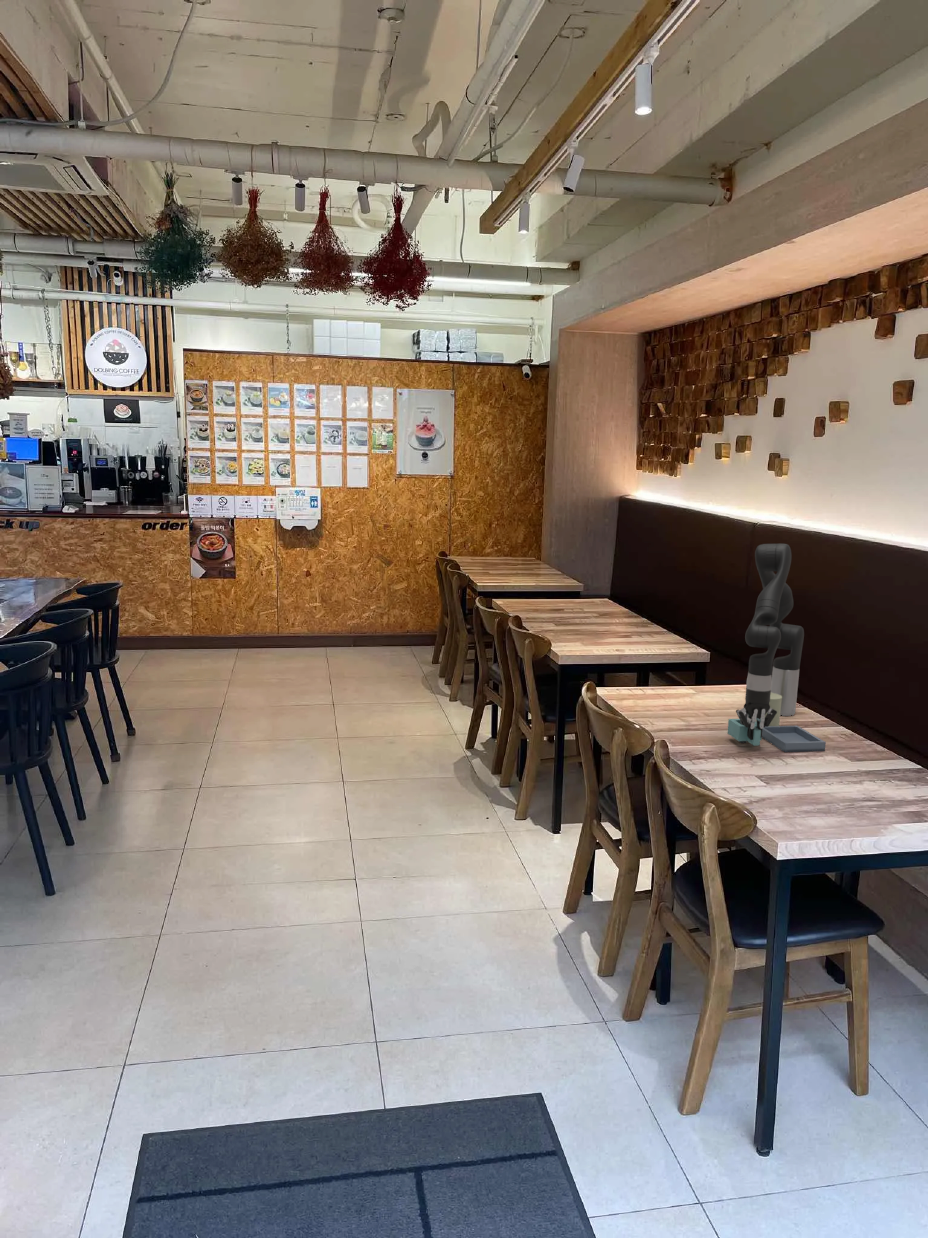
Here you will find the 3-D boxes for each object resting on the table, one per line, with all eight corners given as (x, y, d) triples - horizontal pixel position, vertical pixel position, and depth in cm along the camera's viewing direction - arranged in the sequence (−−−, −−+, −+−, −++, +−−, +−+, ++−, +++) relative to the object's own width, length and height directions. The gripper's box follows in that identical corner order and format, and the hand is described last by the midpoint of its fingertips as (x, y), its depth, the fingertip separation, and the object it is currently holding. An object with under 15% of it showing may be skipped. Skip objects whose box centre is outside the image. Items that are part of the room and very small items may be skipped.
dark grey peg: (736, 740, 290) (738, 710, 288) (744, 740, 290) (747, 709, 288) (740, 744, 287) (743, 712, 285) (749, 743, 287) (752, 712, 285)
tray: (758, 735, 296) (758, 726, 296) (796, 734, 299) (797, 725, 298) (784, 752, 279) (785, 743, 279) (824, 751, 282) (825, 742, 281)
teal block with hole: (727, 733, 291) (728, 719, 290) (749, 732, 292) (751, 718, 291) (745, 745, 279) (746, 731, 278) (768, 745, 280) (769, 730, 279)
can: (775, 723, 310) (778, 691, 307) (782, 732, 301) (785, 698, 298) (749, 722, 310) (751, 690, 308) (754, 730, 301) (757, 697, 299)
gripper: (772, 683, 282) (768, 734, 286) (733, 684, 280) (728, 736, 284) (784, 689, 275) (779, 742, 279) (744, 690, 273) (739, 743, 276)
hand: (754, 738), depth 281 cm, fingers closed on teal block with hole
